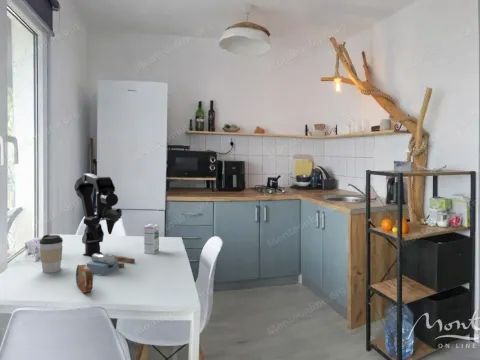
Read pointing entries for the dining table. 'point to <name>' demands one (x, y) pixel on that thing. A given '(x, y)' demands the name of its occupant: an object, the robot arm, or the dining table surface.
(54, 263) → the coffee cup
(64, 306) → the dining table surface
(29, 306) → the dining table surface
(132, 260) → the guide channel
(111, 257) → the axle
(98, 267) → the v block
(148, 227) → the syrup box
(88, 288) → the tin
